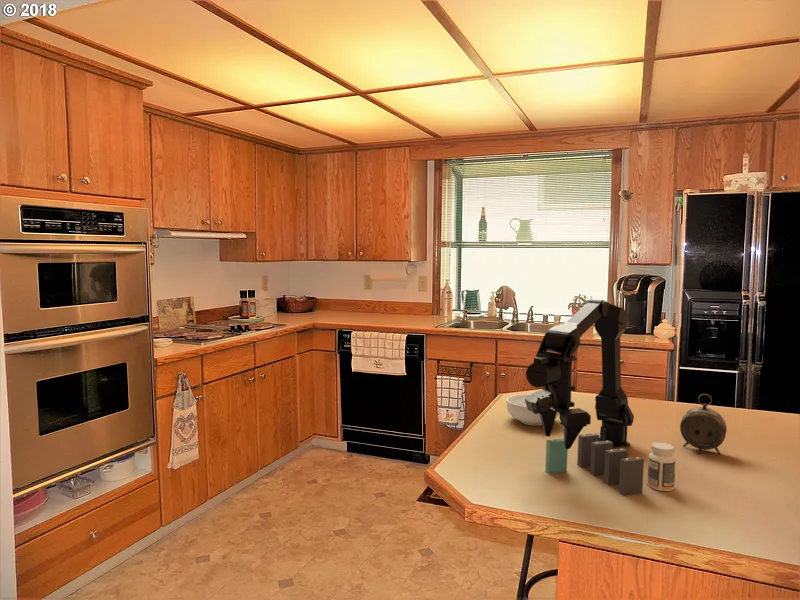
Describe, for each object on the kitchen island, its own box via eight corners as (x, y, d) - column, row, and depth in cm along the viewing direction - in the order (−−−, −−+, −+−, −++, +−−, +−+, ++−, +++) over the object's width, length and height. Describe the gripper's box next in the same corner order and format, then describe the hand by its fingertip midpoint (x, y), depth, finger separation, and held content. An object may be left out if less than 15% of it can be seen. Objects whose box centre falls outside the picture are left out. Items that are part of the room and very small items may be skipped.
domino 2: (594, 463, 143) (595, 432, 142) (598, 465, 142) (599, 434, 141) (577, 465, 142) (578, 433, 141) (580, 467, 140) (582, 435, 140)
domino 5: (637, 490, 127) (639, 455, 127) (642, 493, 126) (644, 458, 125) (618, 492, 126) (620, 457, 125) (623, 495, 125) (625, 460, 124)
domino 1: (563, 469, 139) (564, 437, 138) (566, 471, 138) (568, 439, 137) (545, 471, 138) (546, 439, 137) (548, 473, 136) (549, 441, 135)
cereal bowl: (566, 419, 179) (567, 398, 179) (551, 434, 165) (551, 411, 165) (516, 411, 188) (517, 390, 188) (497, 424, 174) (498, 402, 174)
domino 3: (607, 471, 138) (609, 439, 137) (611, 474, 136) (613, 441, 136) (590, 473, 137) (591, 441, 136) (593, 476, 135) (595, 443, 134)
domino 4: (621, 480, 133) (623, 447, 132) (626, 483, 131) (627, 449, 130) (603, 482, 131) (605, 448, 131) (608, 485, 130) (609, 451, 129)
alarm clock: (725, 453, 151) (729, 394, 149) (723, 459, 147) (727, 399, 145) (680, 444, 157) (683, 388, 156) (677, 450, 153) (681, 392, 151)
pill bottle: (672, 483, 131) (674, 443, 130) (675, 493, 126) (678, 451, 125) (646, 480, 133) (648, 440, 132) (648, 490, 128) (650, 448, 127)
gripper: (511, 373, 142) (510, 432, 144) (550, 392, 124) (548, 459, 126) (550, 371, 145) (548, 429, 147) (593, 389, 127) (590, 454, 129)
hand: (557, 442), depth 137 cm, fingers open, 9 cm apart
